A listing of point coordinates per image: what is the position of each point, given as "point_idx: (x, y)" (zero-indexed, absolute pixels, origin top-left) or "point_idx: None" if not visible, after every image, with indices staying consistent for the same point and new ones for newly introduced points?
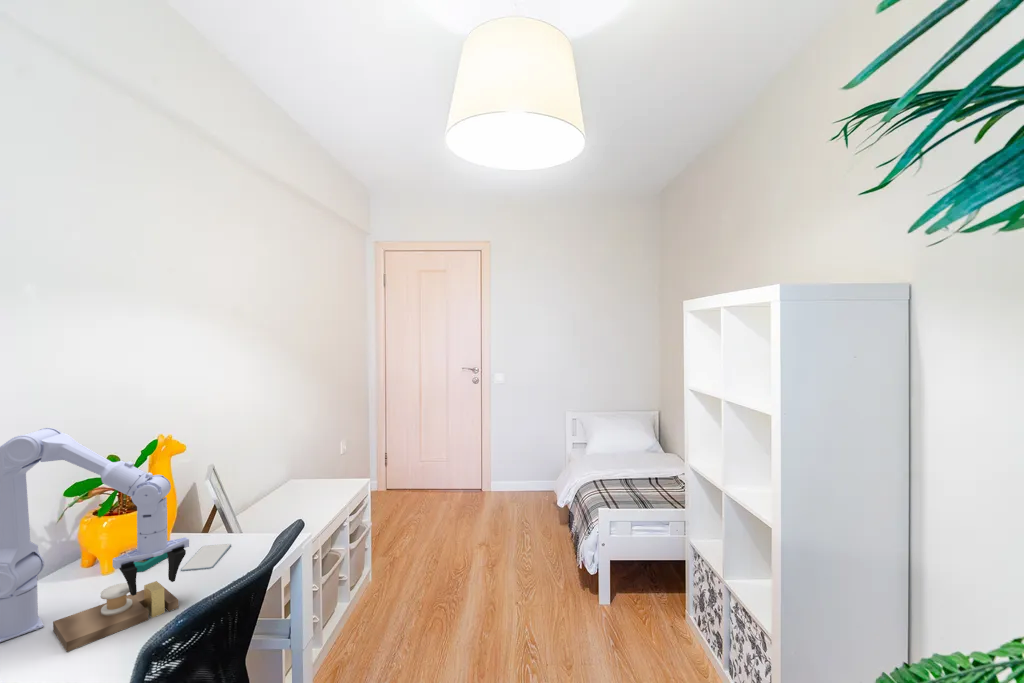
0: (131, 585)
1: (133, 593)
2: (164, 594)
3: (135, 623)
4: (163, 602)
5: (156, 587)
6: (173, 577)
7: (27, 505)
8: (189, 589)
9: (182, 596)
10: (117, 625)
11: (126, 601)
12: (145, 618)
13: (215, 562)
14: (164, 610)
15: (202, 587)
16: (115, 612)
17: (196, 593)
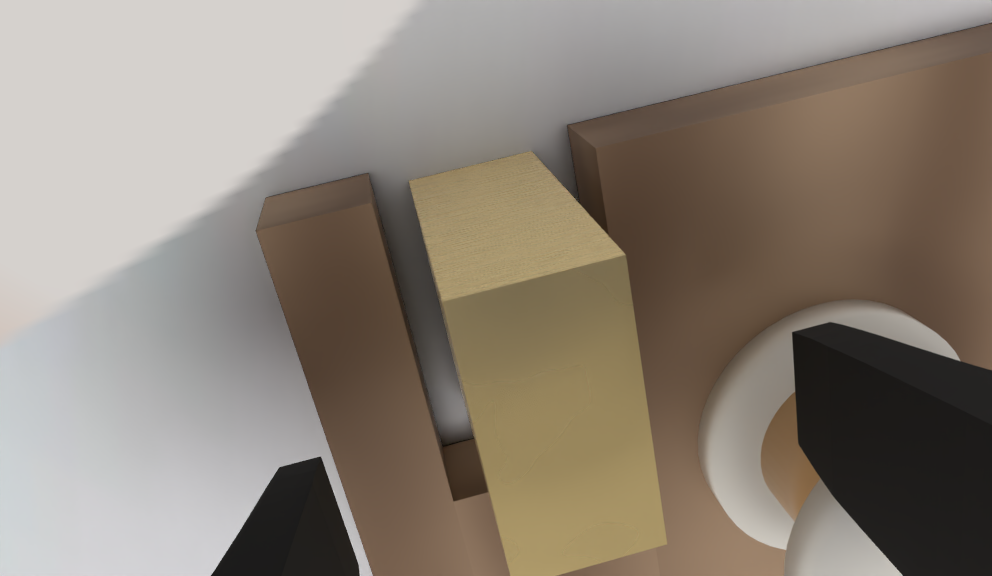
0: (988, 372)
1: (849, 329)
2: (399, 463)
3: (689, 99)
4: (430, 219)
5: (541, 378)
6: (292, 495)
7: None
8: (150, 558)
9: (221, 445)
10: (877, 70)
11: (777, 440)
12: (601, 124)
13: None
14: (412, 186)
15: (11, 532)
16: (873, 309)
17: (72, 430)
